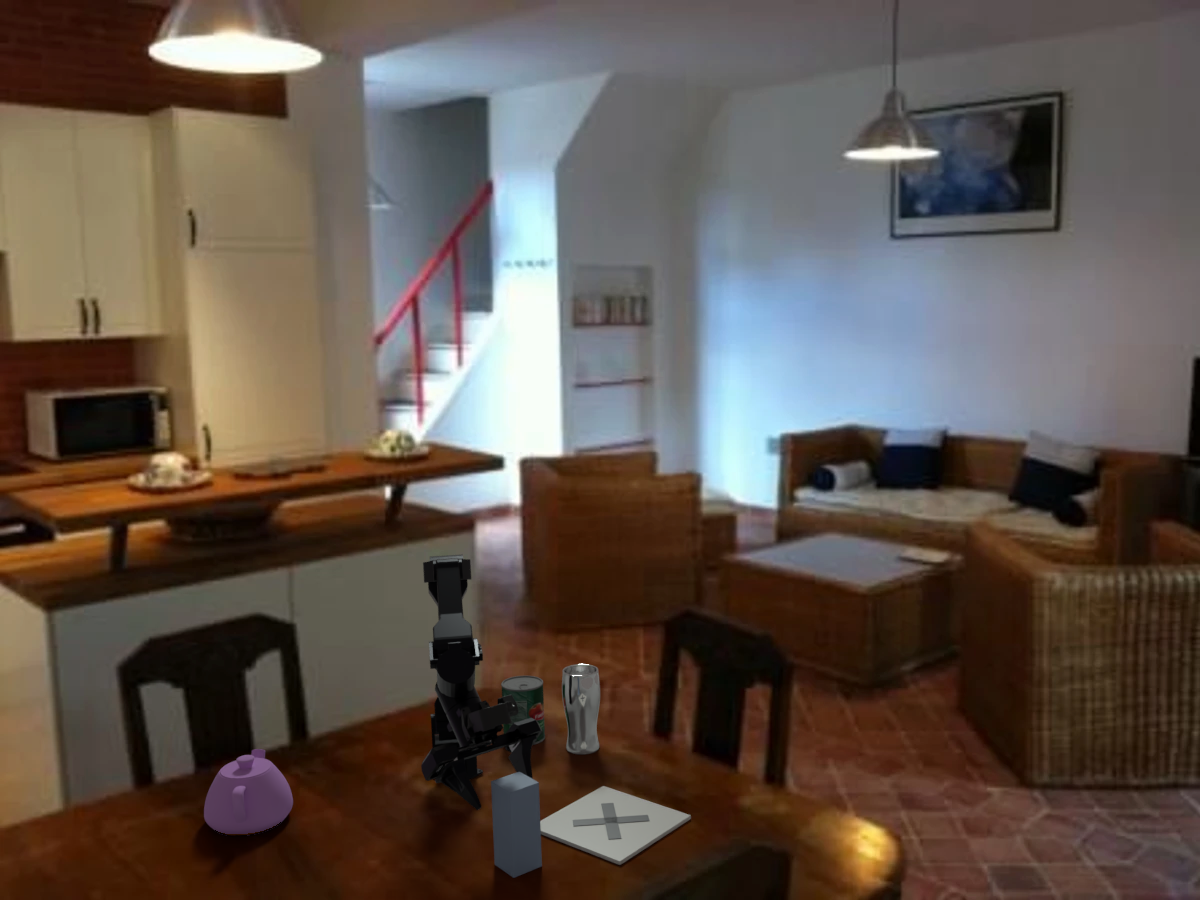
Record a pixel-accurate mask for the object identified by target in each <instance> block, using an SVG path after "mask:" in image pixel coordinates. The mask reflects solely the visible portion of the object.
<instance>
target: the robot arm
mask: <svg viewBox="0 0 1200 900" xmlns="http://www.w3.org/2000/svg"><path fill="white" fill-rule="evenodd" d="M471 563H472V562H471V558H470V559H469V558H468V559H466V558H464V555H463V553H462V554H449V555H434V556H433V555H432V556H429V560H428V561H424V562H422V568H423V569H422V571H423V583H424V584H425V583H426V584H427V586H428V594H429V596H430V597H431V599H432V601H434V603H435V604H436V606H437V615H438V616H437V618H438V621H437V622H436V623H435V625H433V627H432V636H433V637H432V641H428V648H429V650H428V651H429V666H430V669H431V670H436V683H435V686H434V691H435V693H436V696H437V697H436V699H435V701H434V705H433V706H434V713H430V723H431V724H430V725H431V728H430V729H431V744H432V745H431V746H432V747H431V749H430V751H429V752H428V753H427V755H426V756H425V757H424V759H423V761H422V762H421V765H420V767H421V772H422V774H423V777H424V779H425V781H426V782H428V781H432V780H434V782H435V783H436V784H440V783H441V784H443V785H444V786H446V787H447V788H448V789H450V790H451V791H453V792H454V793H456V794H457V795H458V796H460V797H461V798H462V799H463V800H464V801H466V802H467V804H469V805H470V806H471V807H472V808H474V809H475V810H476V811H479V810H481V809H482V804H481V801H480V798H479V795H478V794H477V791H476V789H475V787H474V785H473V784H472V781H471V780H473V779H474V778H476V777H478V776H480V775H482V774H484V771H483V769H480V768H478V759H477V758H478V756H480V755H484V754H489V753H491V752H493V751H496V750H499V749H500V750H501V749H503V748H504V749H505V750H506V751H507V752H509V753H510V754H509V756H508V757H507V758H508V759H509V761H510V763H511V765H512V766H513V768H514V771H515V773H517V772H521V773H523V774H525V775H526V776H528V777H530V778H532V779H534V778H533V777H534V776H533V770H532V758H531V757H532V754H531V753H532V747H533V746H534V745H533V744H534V743H535V742H536V740H537V737H538V736H539V735H540V734H541V733H542V729H541V727H540V725H539V723H538V722H537V721H536V720H535V719H533V718H529V719H525V720H522V721H519V722H516V723H513V724H512V726H511V727H510V728H509V730H508V731H507V732H506V733H505V734H504V733H502V734H499V735H498V733H499V732H501V731H503V724H510V723H512V721H511V716H515V715H518V712H519V710H518V706H517V703H516V701H515V700H514V698H513V696H512V694H511V695H508V696H504V697H502V696H501V697H499V698H497V704H495V705H493V706H491V705H490V704H489V701H487V700H482V699H481V698H480V696H479V693H478V691H477V688H476V687H475V681H476V666H480V662H481V661H484V655H483V654H484V653H483V649H482V648H483V647H482V644H481V643H480V642H479V640H478V638H477V637H473V635H474V634H473V629H472V628H473V626H472V624H471V623H470V622H469V621H467V620H466V618H465V617H464V608H463V599H464V597H465V595H466V594H467V591H468V587H469V586H468V581H470V580H472V566H471V565H472V564H471Z"/></svg>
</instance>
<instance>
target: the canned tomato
mask: <svg viewBox="0 0 1200 900" xmlns="http://www.w3.org/2000/svg"><path fill="white" fill-rule="evenodd" d="M500 686H501V698H502V697H504V696H508V695H511V694H512V696H513V698H514V700H515V701H516V703H517V706H518V710H519V712H518V715H515V716H511V721H512V723H510V724H502V726H503V729H502V731H503V734H505V733H506V732H507V731H508V730H509V728H510V727H511V726H512V724H513V723H516V722H519V721H522V720H525V719H529V718H533V719H535V720H536V721H537V722H538V723H539V725H540V727H541V729H542V733H541V734H540V735H539V736H538V737H537V740H536V742H535V743H534V744H533V745H532V746H534V745H537V744H540V743H542V742H543V741H544V740H545V738H546V732H545V730H546V729H545V703H544V700H545V699H544V680H543V679H542V678H540V677H538V676H534V675H515V676H510V677H508V678H505V679H504V680H503V681H502V682H501V684H500Z"/></svg>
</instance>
